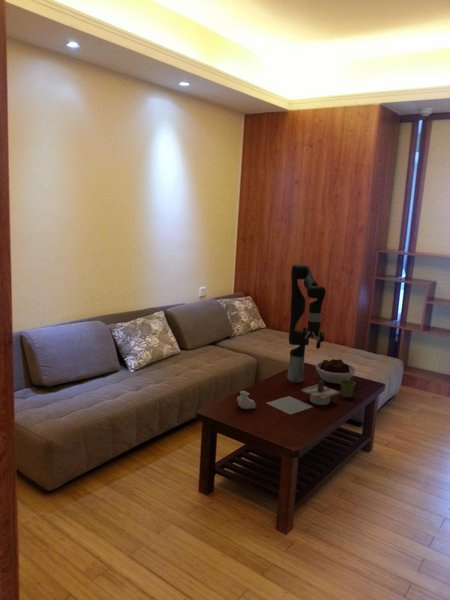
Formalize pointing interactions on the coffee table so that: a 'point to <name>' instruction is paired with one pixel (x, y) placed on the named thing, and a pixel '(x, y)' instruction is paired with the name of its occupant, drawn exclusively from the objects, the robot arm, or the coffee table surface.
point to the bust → (245, 401)
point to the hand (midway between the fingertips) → (312, 346)
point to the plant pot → (347, 388)
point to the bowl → (319, 400)
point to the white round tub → (335, 371)
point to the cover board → (320, 391)
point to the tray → (289, 405)
